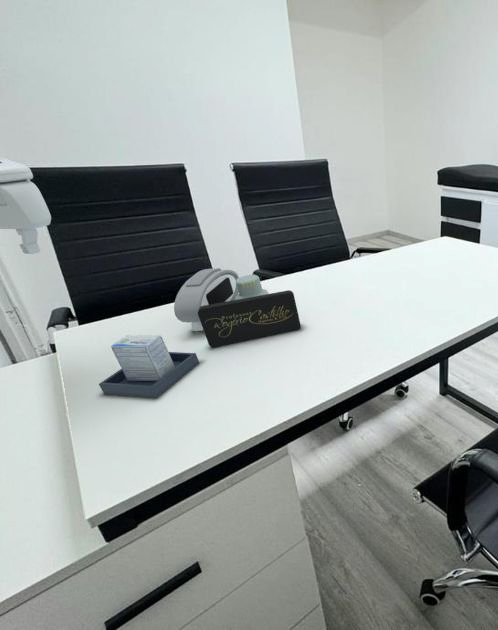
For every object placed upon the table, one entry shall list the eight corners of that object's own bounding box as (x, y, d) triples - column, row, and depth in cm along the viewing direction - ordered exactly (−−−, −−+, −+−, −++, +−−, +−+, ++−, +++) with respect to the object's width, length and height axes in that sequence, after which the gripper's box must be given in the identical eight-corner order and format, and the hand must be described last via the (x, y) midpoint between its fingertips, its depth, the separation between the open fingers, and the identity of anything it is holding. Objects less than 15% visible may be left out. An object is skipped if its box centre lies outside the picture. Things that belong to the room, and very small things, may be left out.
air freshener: (275, 315, 104) (266, 281, 100) (242, 323, 101) (232, 288, 96) (268, 301, 113) (260, 269, 108) (238, 308, 109) (228, 275, 105)
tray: (103, 394, 76) (98, 384, 75) (152, 360, 87) (147, 350, 86) (156, 398, 74) (151, 387, 73) (199, 362, 85) (195, 353, 84)
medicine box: (177, 369, 82) (162, 334, 78) (162, 382, 78) (146, 345, 74) (143, 369, 83) (127, 334, 79) (127, 382, 79) (109, 345, 75)
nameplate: (209, 348, 90) (196, 310, 86) (210, 344, 92) (197, 306, 87) (301, 329, 96) (293, 292, 92) (300, 325, 98) (292, 289, 93)
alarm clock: (208, 336, 96) (191, 289, 90) (184, 337, 96) (165, 290, 90) (245, 298, 116) (233, 257, 110) (225, 299, 116) (212, 258, 111)
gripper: (-106, 174, 62) (-55, 257, 68) (-6, 171, 59) (38, 259, 65) (-56, 170, 68) (-14, 247, 74) (38, 167, 64) (74, 248, 70)
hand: (11, 252), depth 69 cm, fingers open, 8 cm apart
